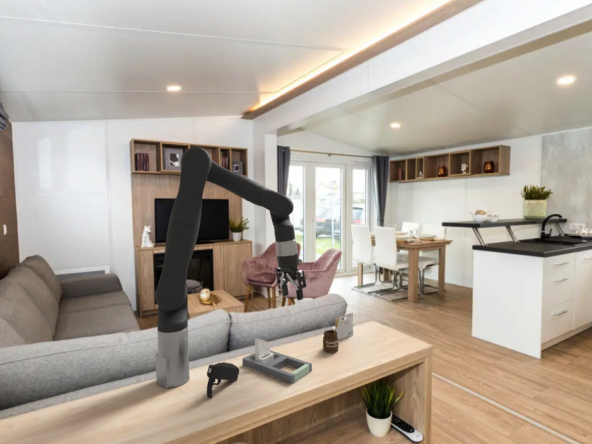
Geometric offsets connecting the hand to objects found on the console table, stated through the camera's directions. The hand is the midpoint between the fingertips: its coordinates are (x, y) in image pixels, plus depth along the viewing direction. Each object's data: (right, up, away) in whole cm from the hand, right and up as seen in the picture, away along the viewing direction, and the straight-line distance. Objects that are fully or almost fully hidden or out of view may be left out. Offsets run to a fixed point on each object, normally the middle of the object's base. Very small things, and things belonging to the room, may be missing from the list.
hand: (292, 297), depth 126 cm
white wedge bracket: (-10, -24, 0) cm, 26 cm away
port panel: (-6, -24, -4) cm, 24 cm away
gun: (-21, -25, -16) cm, 36 cm away
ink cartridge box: (+21, -22, +24) cm, 39 cm away
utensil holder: (+15, -23, +11) cm, 29 cm away
